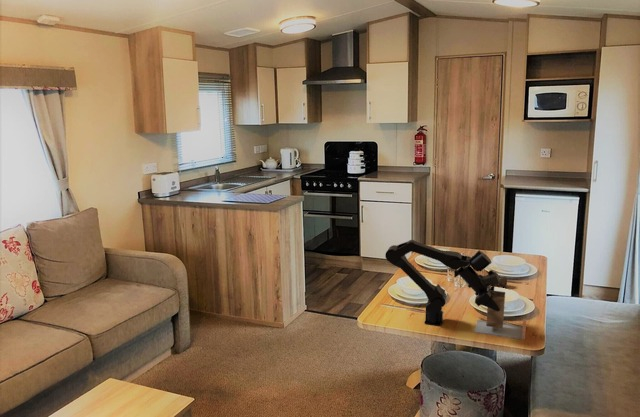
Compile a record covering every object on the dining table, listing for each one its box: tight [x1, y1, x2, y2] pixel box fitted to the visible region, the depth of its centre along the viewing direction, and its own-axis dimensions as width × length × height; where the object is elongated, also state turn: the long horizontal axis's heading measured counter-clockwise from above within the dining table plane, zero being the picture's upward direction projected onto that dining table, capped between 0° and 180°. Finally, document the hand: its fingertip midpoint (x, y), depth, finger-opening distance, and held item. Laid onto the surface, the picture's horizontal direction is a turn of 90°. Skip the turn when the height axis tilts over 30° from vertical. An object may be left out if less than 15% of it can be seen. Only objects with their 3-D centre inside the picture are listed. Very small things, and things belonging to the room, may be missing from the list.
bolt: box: [482, 274, 508, 289], centre depth 255 cm, size 6×5×15 cm
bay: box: [473, 318, 527, 341], centre depth 205 cm, size 19×12×4 cm, turn 67°
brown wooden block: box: [486, 290, 506, 328], centre depth 204 cm, size 6×6×13 cm
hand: (499, 307), depth 204 cm, fingers closed on brown wooden block, 6 cm apart
